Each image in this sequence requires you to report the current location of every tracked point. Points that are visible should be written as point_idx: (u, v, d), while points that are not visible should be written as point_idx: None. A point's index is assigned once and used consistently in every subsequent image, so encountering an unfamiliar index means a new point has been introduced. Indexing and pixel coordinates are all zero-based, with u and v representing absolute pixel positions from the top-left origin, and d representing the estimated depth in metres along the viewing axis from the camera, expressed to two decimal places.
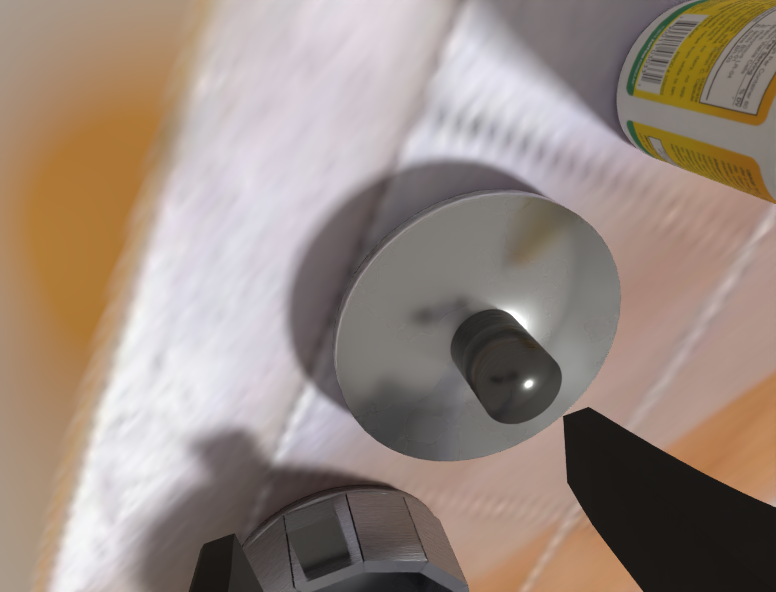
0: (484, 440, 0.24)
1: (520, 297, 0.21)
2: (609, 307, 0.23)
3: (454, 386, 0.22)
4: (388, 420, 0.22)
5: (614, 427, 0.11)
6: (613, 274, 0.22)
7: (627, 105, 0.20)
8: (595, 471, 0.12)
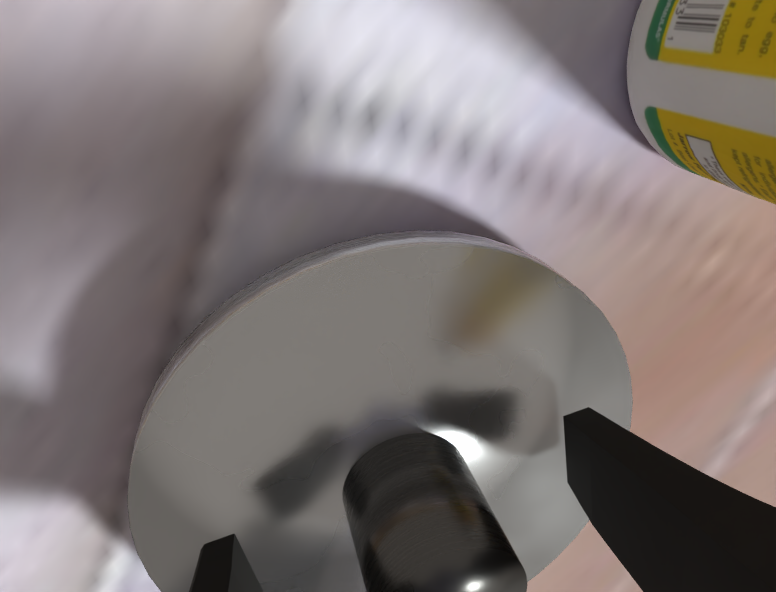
0: None
1: (461, 412, 0.12)
2: (614, 418, 0.14)
3: (356, 551, 0.13)
4: None
5: (615, 427, 0.11)
6: (620, 368, 0.13)
7: (647, 78, 0.11)
8: (595, 471, 0.12)
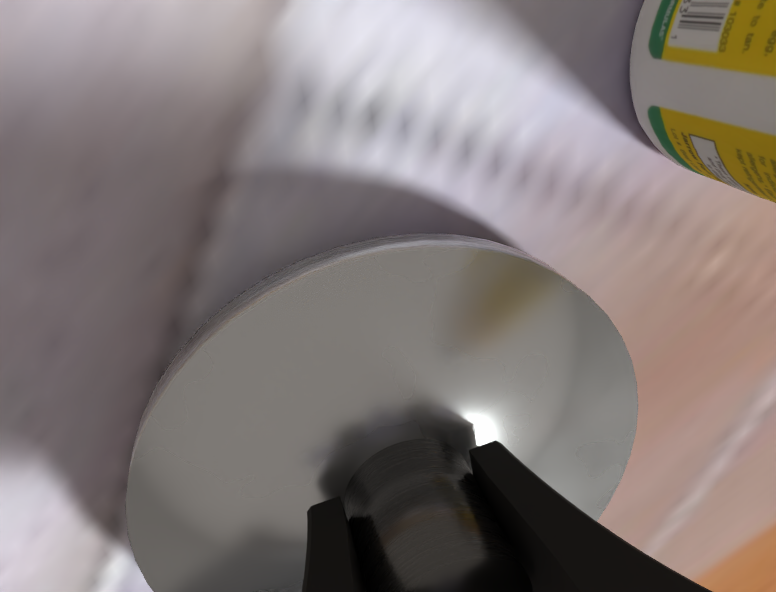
0: None
1: (464, 417, 0.12)
2: (620, 423, 0.13)
3: None
4: None
5: (515, 464, 0.11)
6: (626, 372, 0.13)
7: (650, 77, 0.11)
8: (495, 508, 0.11)
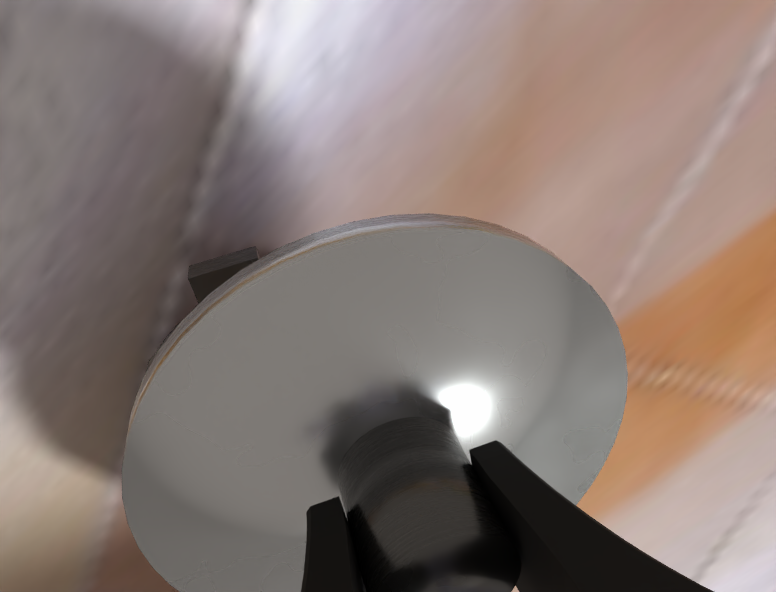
0: None
1: (461, 398, 0.12)
2: (607, 411, 0.14)
3: None
4: (231, 582, 0.13)
5: (514, 463, 0.11)
6: (619, 362, 0.13)
7: None
8: (496, 508, 0.11)
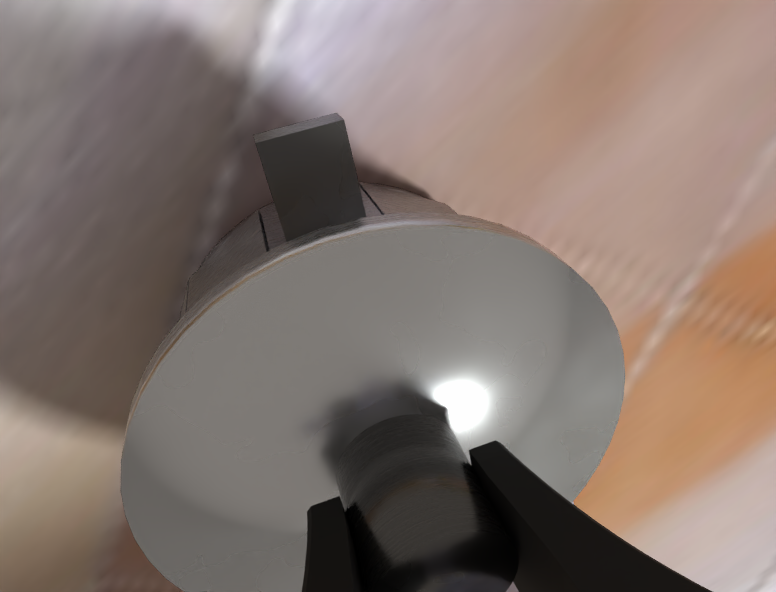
0: None
1: (461, 396, 0.12)
2: (604, 412, 0.14)
3: None
4: (227, 576, 0.13)
5: (514, 463, 0.11)
6: (617, 364, 0.13)
7: None
8: (495, 508, 0.11)
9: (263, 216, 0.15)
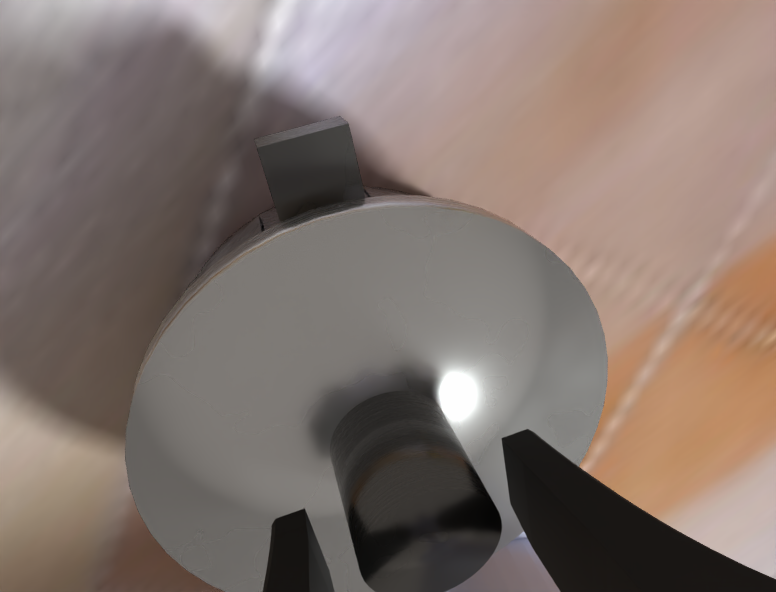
0: None
1: (448, 374, 0.13)
2: (589, 395, 0.14)
3: (337, 505, 0.14)
4: (226, 554, 0.14)
5: (549, 451, 0.11)
6: (599, 345, 0.14)
7: None
8: (530, 495, 0.11)
9: (264, 222, 0.14)
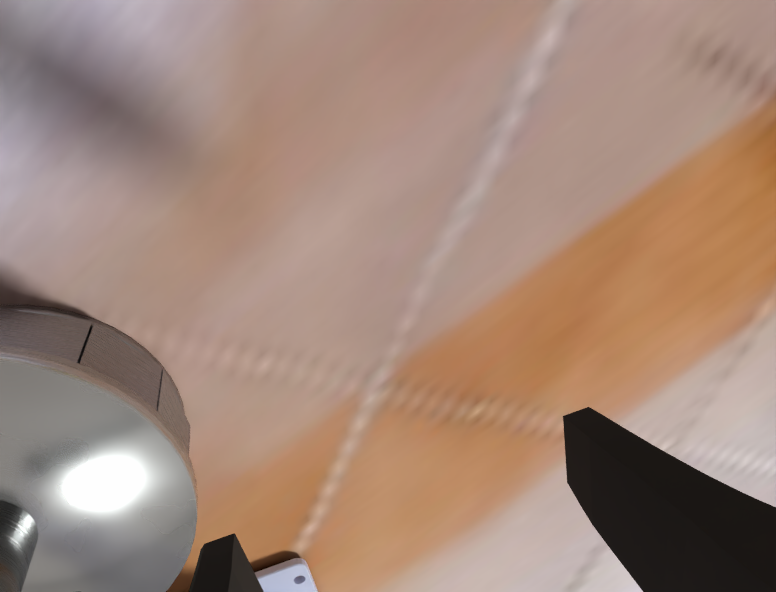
0: None
1: (19, 482, 0.15)
2: (176, 492, 0.17)
3: None
4: None
5: (614, 427, 0.11)
6: (168, 454, 0.16)
7: None
8: (595, 471, 0.12)
9: None
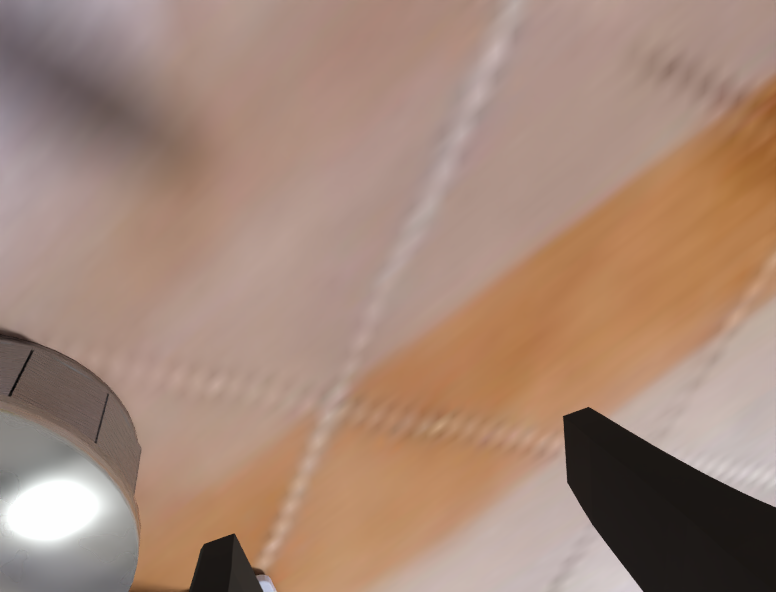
0: None
1: None
2: (114, 521, 0.17)
3: None
4: None
5: (615, 427, 0.11)
6: (103, 484, 0.16)
7: None
8: (595, 471, 0.12)
9: None
